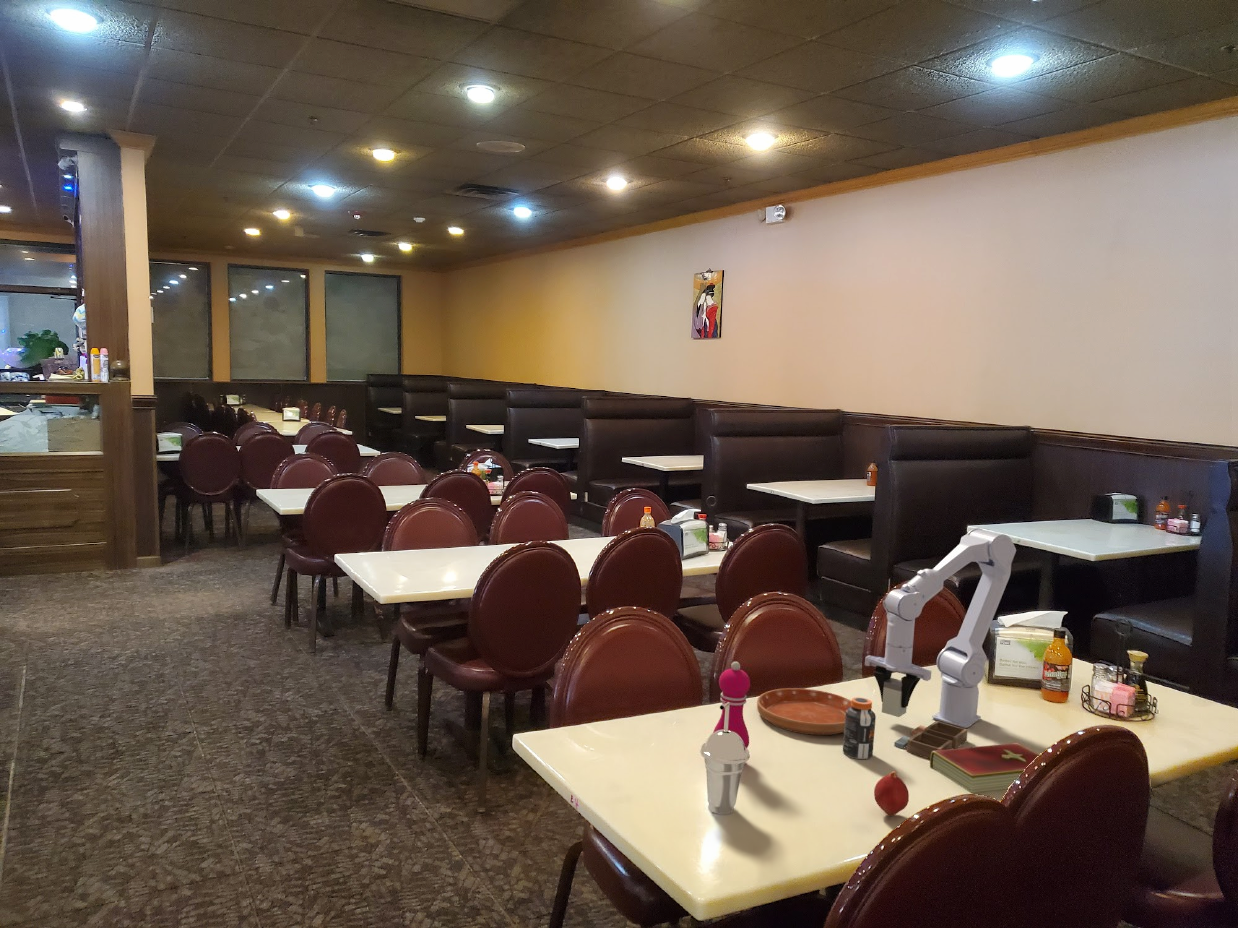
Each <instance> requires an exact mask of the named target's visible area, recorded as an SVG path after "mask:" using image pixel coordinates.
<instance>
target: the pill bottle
mask: <svg viewBox="0 0 1238 928" xmlns="http://www.w3.org/2000/svg"><path fill="white" fill-rule="evenodd" d="M851 701H852V702H851V706H852V707H850V708H848V709H847V711H846V716H845V727H844V732H843V739H842V752H843V753H844V755H845V756H848V757H850V758H853V759H857V760H867V759H870V758H872V757H873V754H874V753H873V752H874V742H875V741H874V739H875V729H876V719H877V717H876V714H875V712H874V711H873V710H872V709H873V701H872V700H871V699H868V698H865V697H859V696H858V697H853V698H852V699H851Z"/></svg>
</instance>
